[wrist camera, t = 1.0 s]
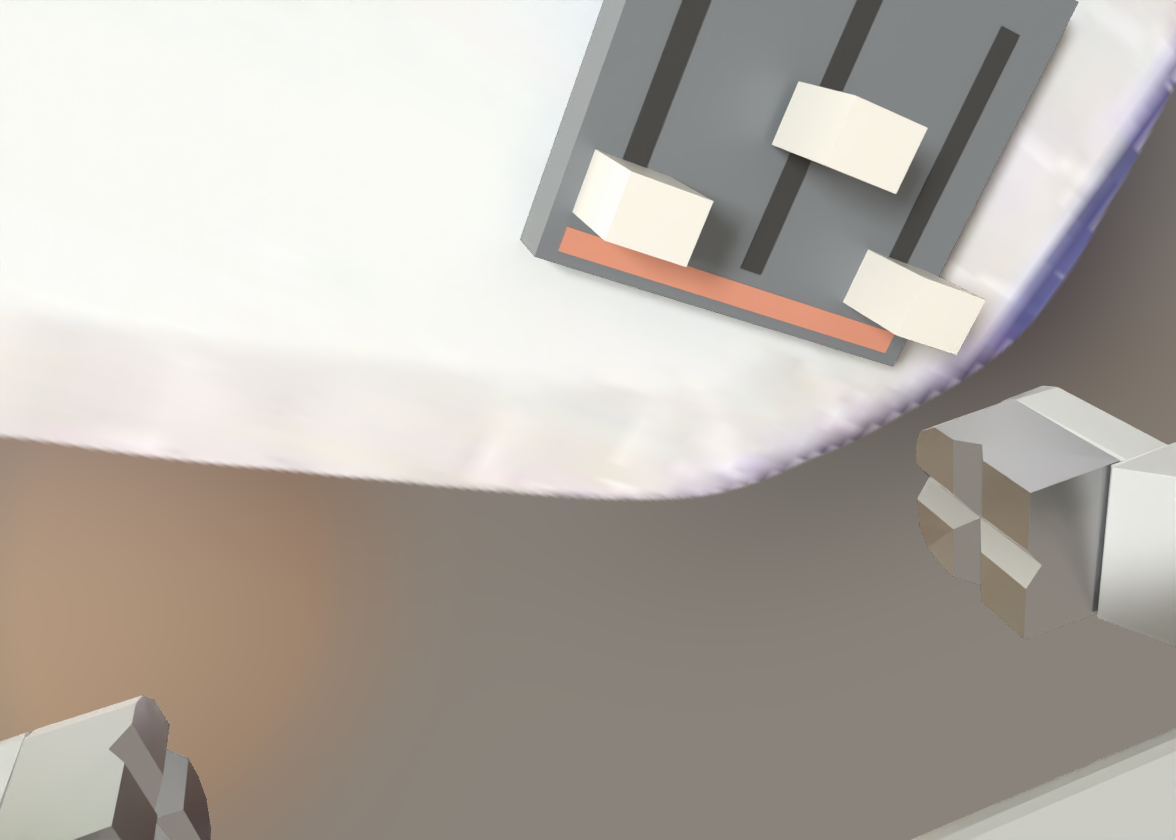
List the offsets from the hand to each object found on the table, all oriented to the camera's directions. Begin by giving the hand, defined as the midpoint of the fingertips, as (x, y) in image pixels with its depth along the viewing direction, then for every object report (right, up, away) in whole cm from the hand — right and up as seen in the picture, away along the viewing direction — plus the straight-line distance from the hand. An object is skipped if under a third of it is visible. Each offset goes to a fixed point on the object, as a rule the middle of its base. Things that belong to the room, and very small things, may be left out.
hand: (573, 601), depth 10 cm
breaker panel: (+10, +17, +38) cm, 43 cm away
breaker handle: (+11, +16, +35) cm, 40 cm away
